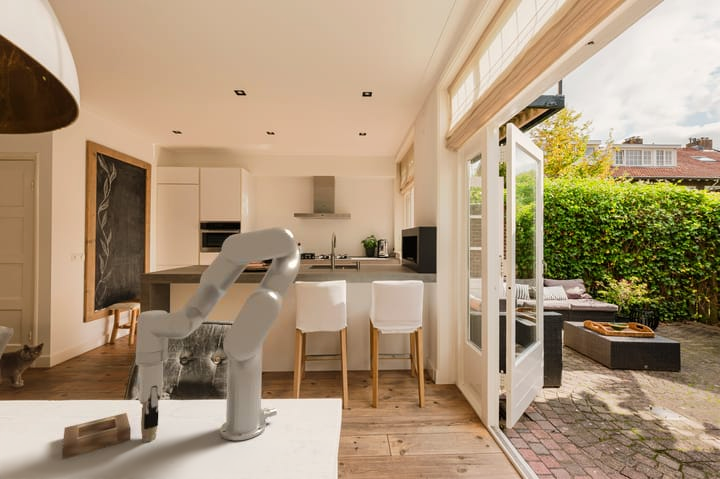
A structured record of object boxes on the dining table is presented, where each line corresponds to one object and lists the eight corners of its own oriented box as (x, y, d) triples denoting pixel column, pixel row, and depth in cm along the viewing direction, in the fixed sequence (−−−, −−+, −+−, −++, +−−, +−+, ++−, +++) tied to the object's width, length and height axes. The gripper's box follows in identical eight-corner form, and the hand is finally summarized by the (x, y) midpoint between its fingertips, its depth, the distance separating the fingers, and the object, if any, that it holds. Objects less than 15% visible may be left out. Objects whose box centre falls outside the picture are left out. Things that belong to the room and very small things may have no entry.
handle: (151, 445, 89) (153, 387, 90) (131, 442, 90) (133, 385, 91) (165, 436, 94) (167, 381, 95) (146, 433, 95) (148, 379, 96)
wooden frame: (126, 423, 101) (126, 412, 101) (130, 439, 92) (130, 427, 92) (64, 438, 92) (64, 426, 93) (61, 459, 83) (62, 445, 83)
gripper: (132, 352, 97) (129, 416, 96) (139, 366, 85) (137, 441, 84) (162, 347, 102) (159, 409, 101) (173, 360, 89) (171, 431, 88)
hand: (149, 423), depth 92 cm, fingers closed on handle, 4 cm apart
